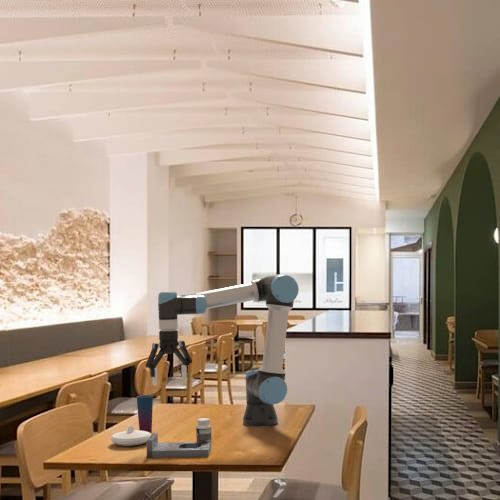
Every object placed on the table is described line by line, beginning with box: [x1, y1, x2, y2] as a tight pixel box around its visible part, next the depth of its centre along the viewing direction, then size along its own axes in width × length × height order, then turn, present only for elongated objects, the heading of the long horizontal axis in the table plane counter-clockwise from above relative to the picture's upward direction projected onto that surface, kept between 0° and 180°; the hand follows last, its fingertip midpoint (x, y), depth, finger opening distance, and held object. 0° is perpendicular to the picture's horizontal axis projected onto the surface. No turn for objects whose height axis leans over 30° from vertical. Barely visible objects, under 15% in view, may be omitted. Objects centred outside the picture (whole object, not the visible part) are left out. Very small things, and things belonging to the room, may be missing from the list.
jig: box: [145, 432, 212, 459], centre depth 264 cm, size 22×13×6 cm, turn 89°
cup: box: [136, 394, 154, 434], centre depth 302 cm, size 7×7×15 cm
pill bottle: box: [195, 417, 213, 445], centre depth 274 cm, size 6×6×10 cm
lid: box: [110, 424, 152, 447], centre depth 281 cm, size 16×16×7 cm
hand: (169, 383), depth 289 cm, fingers open, 13 cm apart
